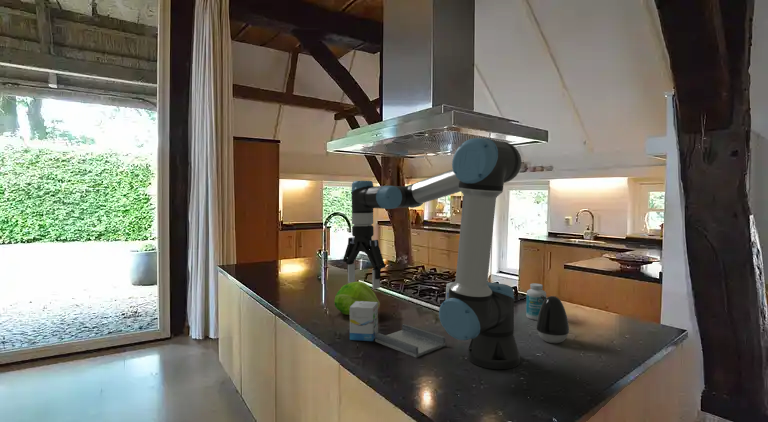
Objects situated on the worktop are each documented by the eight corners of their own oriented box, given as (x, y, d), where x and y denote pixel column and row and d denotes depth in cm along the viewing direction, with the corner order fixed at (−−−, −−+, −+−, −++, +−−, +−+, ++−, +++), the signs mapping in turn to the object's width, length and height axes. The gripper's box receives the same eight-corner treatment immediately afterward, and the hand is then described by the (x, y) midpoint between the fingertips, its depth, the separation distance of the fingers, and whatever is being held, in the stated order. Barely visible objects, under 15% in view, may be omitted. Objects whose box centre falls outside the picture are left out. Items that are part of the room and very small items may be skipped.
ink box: (373, 341, 139) (372, 308, 139) (349, 340, 141) (348, 306, 140) (378, 333, 147) (378, 301, 147) (355, 332, 149) (355, 300, 149)
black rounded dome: (552, 333, 145) (552, 291, 145) (575, 343, 135) (576, 298, 135) (529, 337, 141) (529, 294, 141) (551, 348, 132) (552, 301, 131)
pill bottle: (527, 320, 161) (527, 286, 160) (525, 314, 168) (525, 282, 168) (547, 321, 159) (547, 287, 159) (544, 315, 166) (544, 283, 166)
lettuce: (368, 323, 159) (368, 288, 159) (325, 316, 168) (325, 284, 168) (386, 312, 173) (385, 281, 172) (345, 307, 182) (345, 277, 181)
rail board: (445, 345, 134) (445, 336, 134) (416, 357, 125) (416, 348, 125) (404, 332, 148) (404, 323, 148) (375, 341, 139) (375, 332, 139)
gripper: (395, 226, 136) (395, 289, 137) (349, 222, 154) (350, 278, 155) (378, 227, 131) (379, 293, 132) (333, 223, 149) (333, 281, 150)
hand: (363, 285), depth 144 cm, fingers open, 13 cm apart
